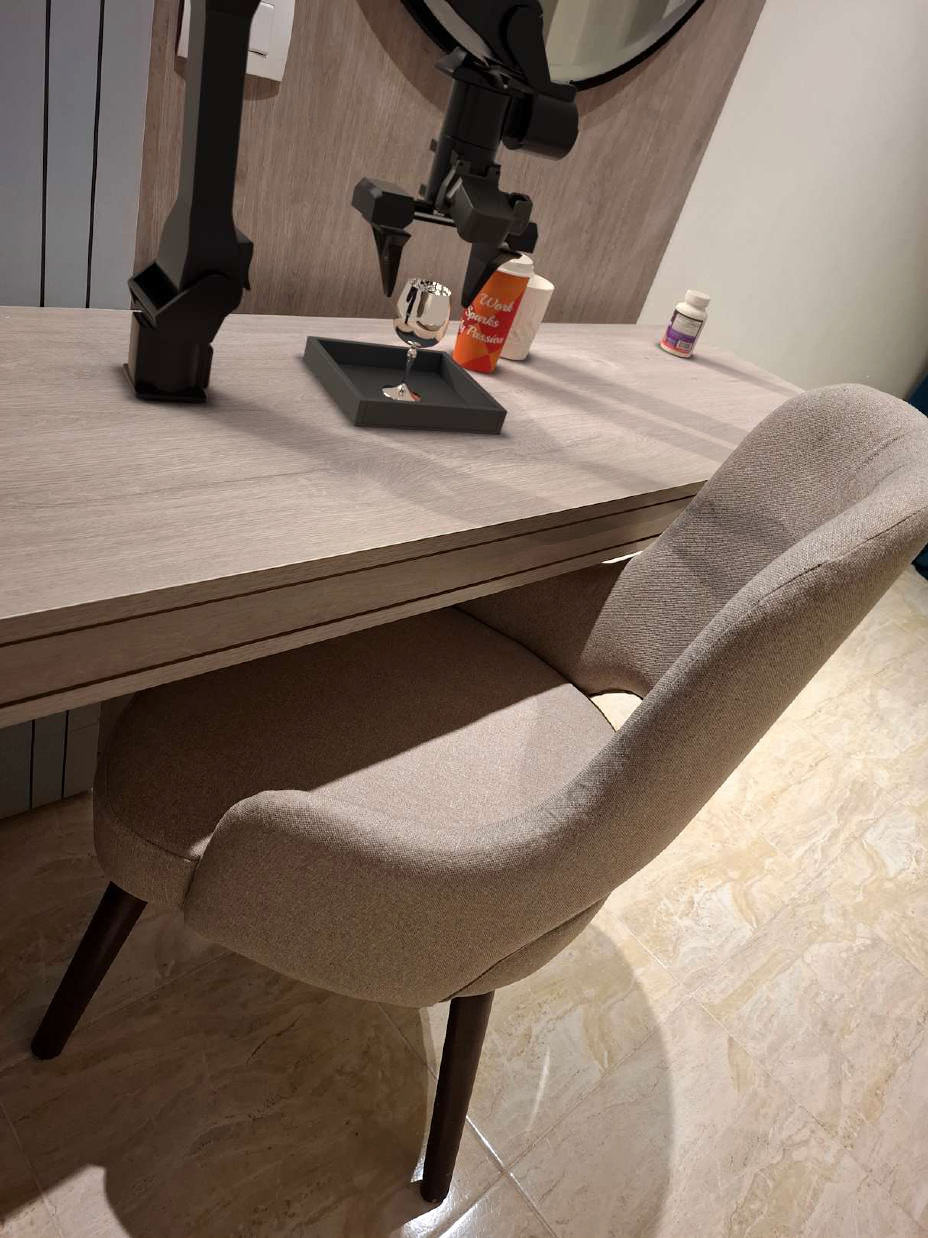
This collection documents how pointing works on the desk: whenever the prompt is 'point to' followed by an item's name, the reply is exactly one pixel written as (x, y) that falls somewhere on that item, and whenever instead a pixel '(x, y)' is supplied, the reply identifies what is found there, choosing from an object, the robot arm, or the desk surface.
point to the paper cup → (492, 316)
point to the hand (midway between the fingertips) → (426, 301)
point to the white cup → (527, 318)
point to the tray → (370, 366)
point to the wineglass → (419, 325)
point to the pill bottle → (686, 324)
